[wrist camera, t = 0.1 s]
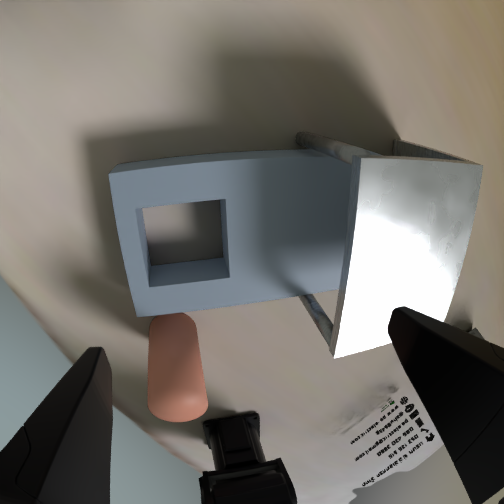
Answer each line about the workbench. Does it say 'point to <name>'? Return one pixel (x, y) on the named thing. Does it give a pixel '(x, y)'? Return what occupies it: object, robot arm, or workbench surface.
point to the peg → (175, 369)
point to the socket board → (237, 227)
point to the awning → (396, 238)
